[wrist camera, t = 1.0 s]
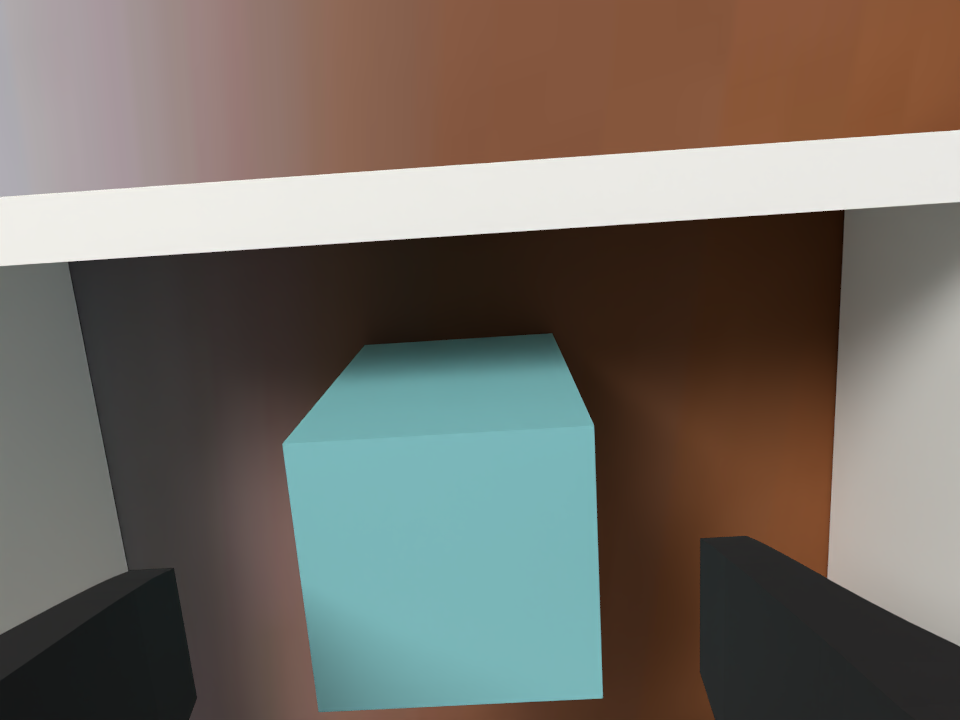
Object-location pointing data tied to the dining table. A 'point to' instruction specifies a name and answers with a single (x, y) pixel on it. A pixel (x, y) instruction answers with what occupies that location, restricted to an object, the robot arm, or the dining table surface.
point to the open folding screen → (511, 208)
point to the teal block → (449, 527)
